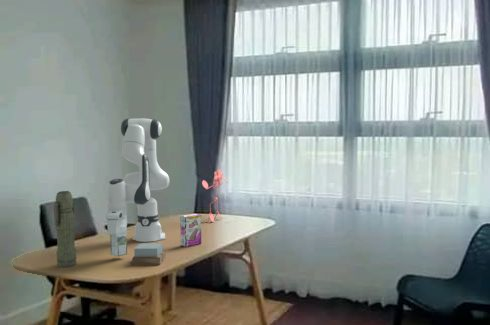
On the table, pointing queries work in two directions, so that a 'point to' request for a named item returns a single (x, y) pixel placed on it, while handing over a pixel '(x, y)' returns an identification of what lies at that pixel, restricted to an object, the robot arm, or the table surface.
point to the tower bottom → (149, 260)
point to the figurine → (218, 181)
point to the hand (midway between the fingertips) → (118, 240)
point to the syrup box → (119, 243)
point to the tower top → (148, 250)
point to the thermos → (65, 229)
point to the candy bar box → (190, 230)
